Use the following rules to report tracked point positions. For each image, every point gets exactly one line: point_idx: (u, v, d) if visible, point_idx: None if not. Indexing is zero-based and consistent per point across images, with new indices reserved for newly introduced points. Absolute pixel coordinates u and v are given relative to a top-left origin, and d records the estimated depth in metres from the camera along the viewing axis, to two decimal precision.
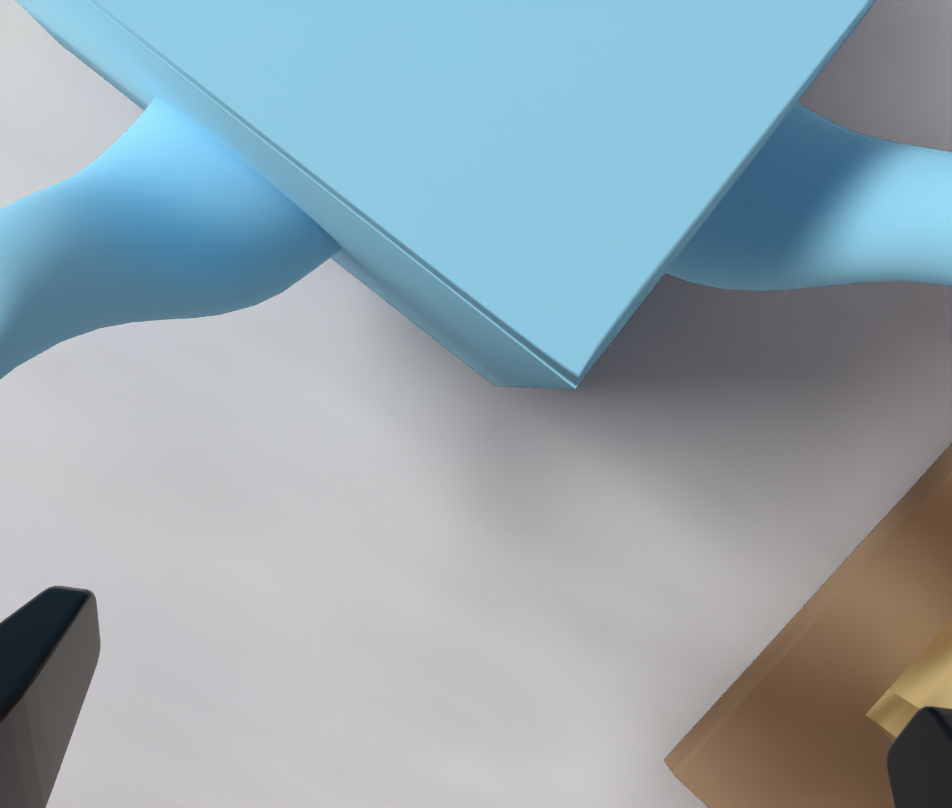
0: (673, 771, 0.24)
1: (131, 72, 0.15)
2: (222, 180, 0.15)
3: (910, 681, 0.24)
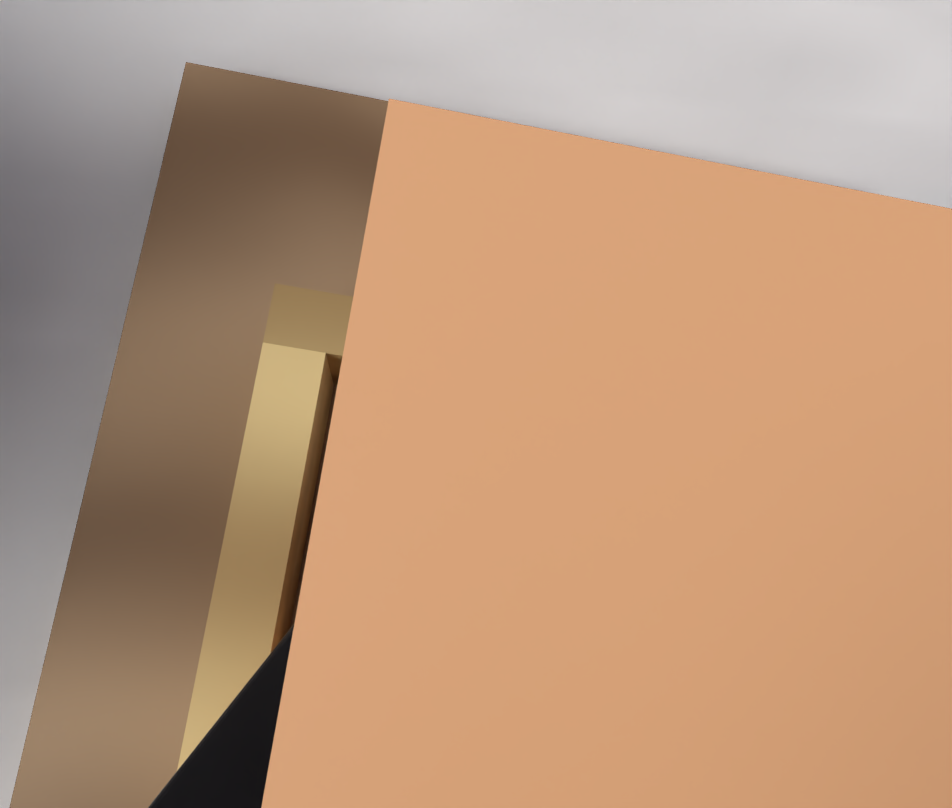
0: None
1: None
2: None
3: None
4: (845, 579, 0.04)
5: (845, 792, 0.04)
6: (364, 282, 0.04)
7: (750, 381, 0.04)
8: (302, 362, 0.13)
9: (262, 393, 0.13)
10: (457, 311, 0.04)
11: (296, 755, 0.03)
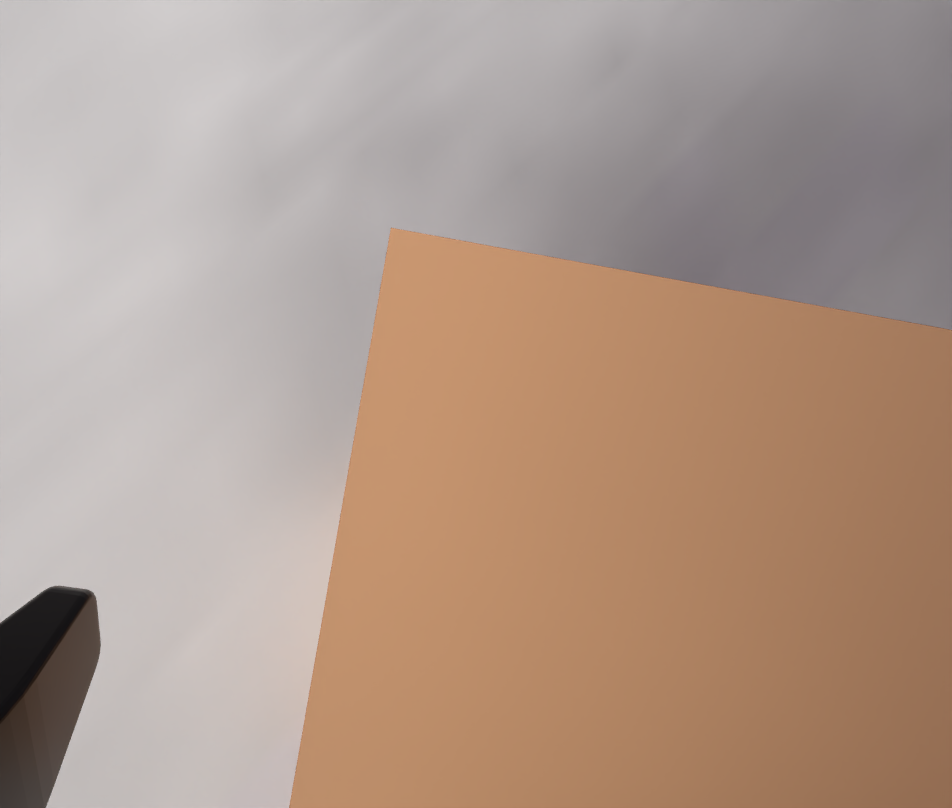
0: None
1: None
2: None
3: None
4: (719, 578, 0.05)
5: (714, 729, 0.05)
6: (373, 364, 0.05)
7: (653, 434, 0.05)
8: None
9: None
10: (440, 384, 0.05)
11: (326, 699, 0.05)
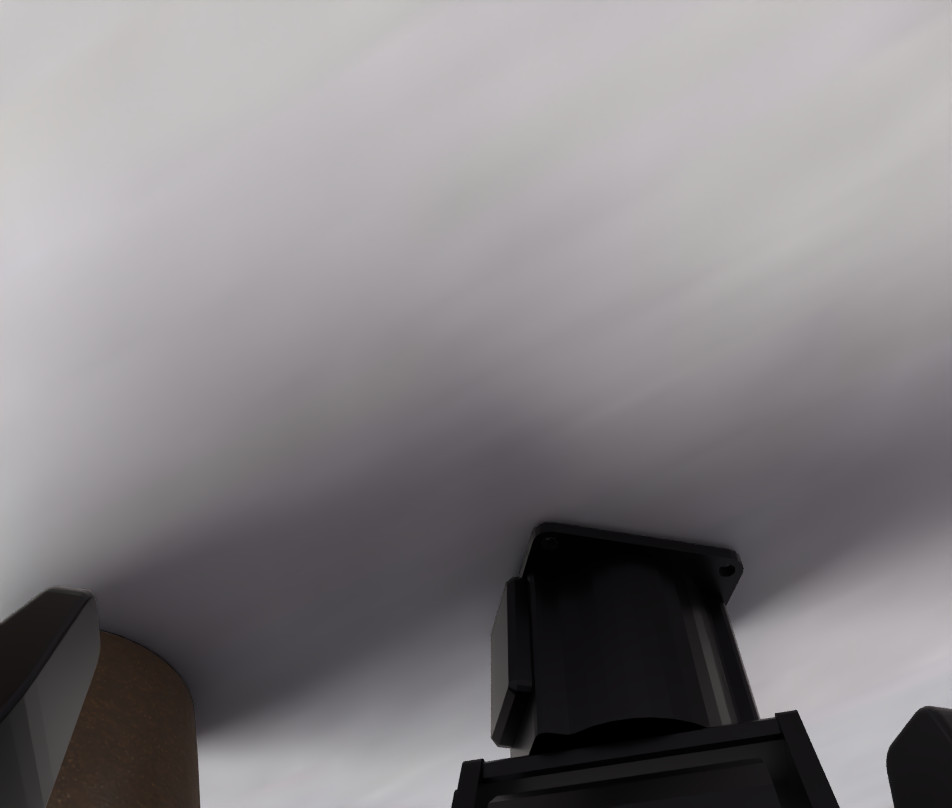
0: None
1: None
2: None
3: None
4: None
5: None
6: None
7: None
8: None
9: None
10: None
11: None
